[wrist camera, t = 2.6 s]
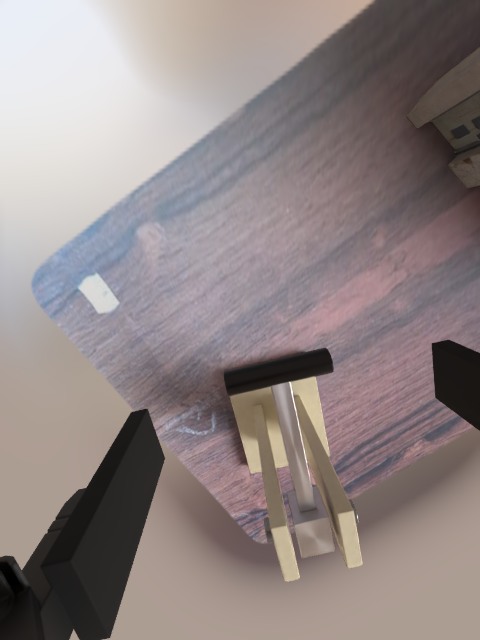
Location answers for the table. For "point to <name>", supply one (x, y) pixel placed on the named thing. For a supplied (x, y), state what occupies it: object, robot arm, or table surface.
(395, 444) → the table surface
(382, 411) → the table surface
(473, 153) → the building
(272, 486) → the bracket
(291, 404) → the lever
